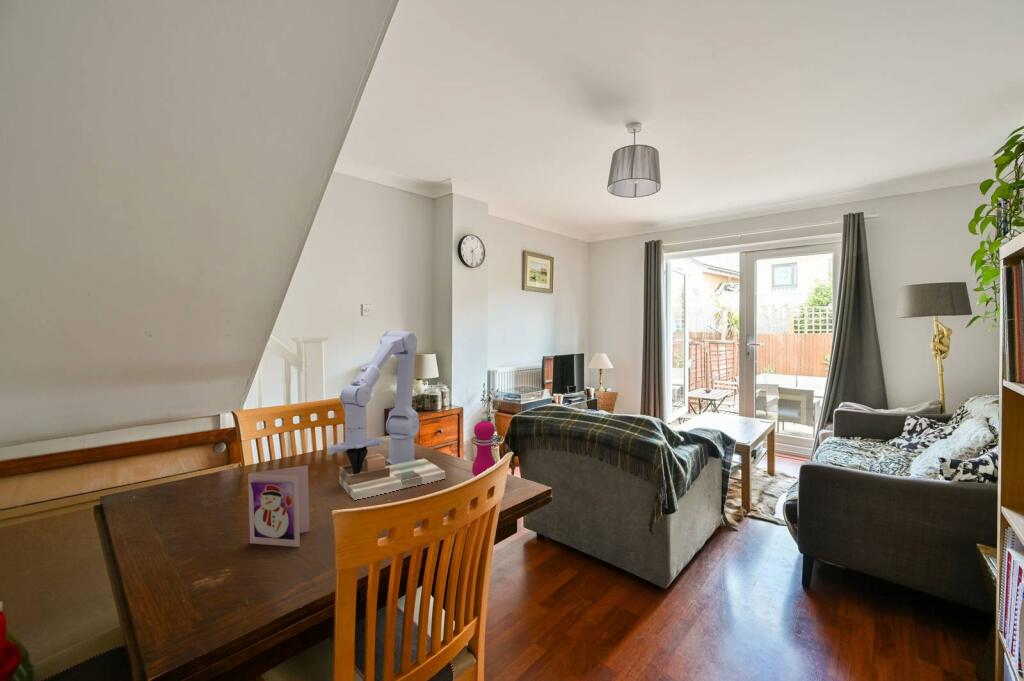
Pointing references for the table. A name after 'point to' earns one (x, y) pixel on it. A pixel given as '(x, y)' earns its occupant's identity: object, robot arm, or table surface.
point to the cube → (373, 462)
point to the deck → (396, 479)
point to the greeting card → (278, 506)
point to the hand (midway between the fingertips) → (356, 474)
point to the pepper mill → (483, 446)
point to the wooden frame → (362, 474)
